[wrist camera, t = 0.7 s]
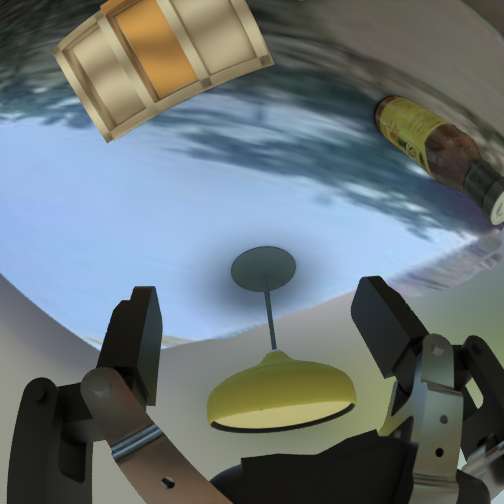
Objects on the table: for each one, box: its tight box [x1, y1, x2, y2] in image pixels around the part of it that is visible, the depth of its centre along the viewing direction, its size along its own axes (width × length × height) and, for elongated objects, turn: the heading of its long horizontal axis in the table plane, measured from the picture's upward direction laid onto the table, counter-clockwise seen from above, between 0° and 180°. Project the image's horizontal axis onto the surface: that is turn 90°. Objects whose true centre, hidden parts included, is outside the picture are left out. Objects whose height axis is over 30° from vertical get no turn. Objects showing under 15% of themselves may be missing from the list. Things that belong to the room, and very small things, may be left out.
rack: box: [51, 0, 274, 143], centre depth 20 cm, size 15×20×4 cm
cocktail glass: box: [207, 247, 356, 433], centre depth 37 cm, size 18×18×25 cm
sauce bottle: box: [375, 96, 504, 225], centre depth 21 cm, size 7×6×20 cm
